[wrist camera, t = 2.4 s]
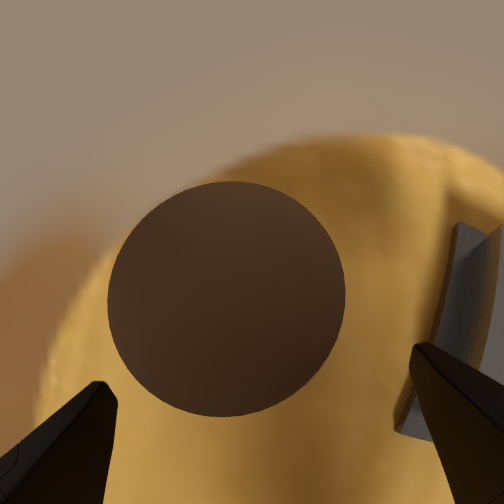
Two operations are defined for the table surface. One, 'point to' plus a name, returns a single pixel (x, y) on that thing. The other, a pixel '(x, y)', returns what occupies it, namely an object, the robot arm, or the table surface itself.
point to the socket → (467, 313)
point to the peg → (226, 299)
